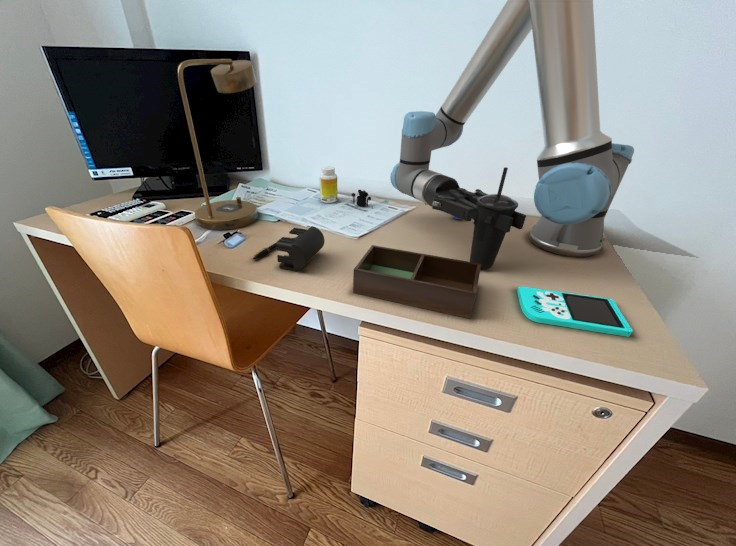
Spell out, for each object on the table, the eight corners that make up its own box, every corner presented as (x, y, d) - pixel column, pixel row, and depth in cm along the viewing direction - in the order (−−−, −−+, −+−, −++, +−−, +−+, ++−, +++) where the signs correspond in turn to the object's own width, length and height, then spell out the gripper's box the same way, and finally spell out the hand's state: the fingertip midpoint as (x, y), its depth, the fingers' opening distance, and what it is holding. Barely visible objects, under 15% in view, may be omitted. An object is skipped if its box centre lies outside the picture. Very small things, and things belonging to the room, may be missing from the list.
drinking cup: (503, 273, 71) (533, 174, 60) (464, 270, 73) (487, 172, 61) (496, 256, 78) (523, 163, 66) (461, 253, 79) (481, 162, 68)
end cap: (306, 275, 73) (305, 246, 69) (277, 269, 75) (274, 240, 71) (325, 254, 81) (324, 227, 77) (298, 249, 83) (296, 223, 79)
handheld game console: (516, 290, 67) (518, 284, 67) (610, 303, 64) (613, 297, 63) (523, 320, 60) (526, 314, 59) (631, 337, 56) (635, 331, 55)
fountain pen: (289, 238, 88) (288, 232, 88) (292, 238, 88) (292, 233, 87) (251, 261, 78) (250, 255, 77) (255, 262, 78) (254, 256, 77)
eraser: (467, 214, 101) (468, 207, 100) (460, 220, 97) (461, 213, 96) (460, 212, 102) (461, 206, 101) (453, 218, 98) (454, 212, 97)
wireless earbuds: (350, 204, 109) (350, 188, 106) (355, 202, 110) (355, 186, 107) (369, 209, 105) (370, 192, 102) (373, 206, 107) (374, 190, 104)
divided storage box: (370, 266, 76) (372, 244, 73) (475, 287, 69) (481, 263, 66) (352, 292, 67) (353, 269, 64) (469, 318, 60) (476, 293, 57)
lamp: (285, 202, 111) (272, 58, 89) (233, 234, 91) (200, 57, 69) (241, 196, 117) (219, 59, 95) (183, 224, 96) (138, 58, 75)
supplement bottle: (339, 202, 111) (339, 169, 105) (323, 204, 109) (322, 171, 103) (334, 197, 115) (333, 165, 109) (318, 199, 113) (317, 166, 108)
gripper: (459, 201, 87) (539, 235, 70) (407, 210, 82) (480, 250, 64) (464, 170, 83) (552, 198, 65) (410, 178, 78) (490, 211, 60)
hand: (516, 223), depth 65 cm, fingers closed on drinking cup, 3 cm apart
